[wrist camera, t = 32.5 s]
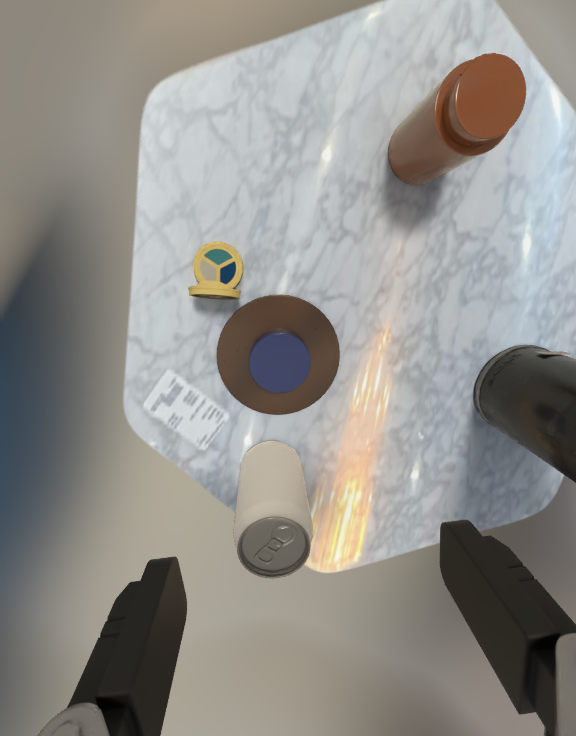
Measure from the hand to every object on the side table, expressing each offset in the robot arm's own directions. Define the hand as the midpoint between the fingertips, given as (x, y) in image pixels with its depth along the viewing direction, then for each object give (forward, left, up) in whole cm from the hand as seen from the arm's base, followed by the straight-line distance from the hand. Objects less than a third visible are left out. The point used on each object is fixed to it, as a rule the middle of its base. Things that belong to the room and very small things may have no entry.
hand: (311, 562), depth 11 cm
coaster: (0, 0, -26) cm, 26 cm away
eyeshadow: (+9, -3, -26) cm, 28 cm away
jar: (+2, -22, -26) cm, 34 cm away
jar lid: (0, 0, -24) cm, 24 cm away
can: (-7, +10, -26) cm, 29 cm away
